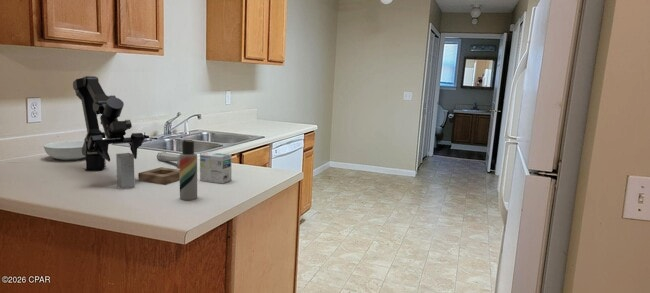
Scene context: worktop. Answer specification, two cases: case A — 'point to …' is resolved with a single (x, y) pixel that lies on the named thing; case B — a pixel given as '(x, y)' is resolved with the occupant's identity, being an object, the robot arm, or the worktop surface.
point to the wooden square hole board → (160, 175)
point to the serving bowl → (65, 150)
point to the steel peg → (125, 170)
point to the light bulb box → (215, 167)
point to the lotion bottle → (188, 171)
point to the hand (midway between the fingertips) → (123, 159)
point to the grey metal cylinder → (168, 157)
